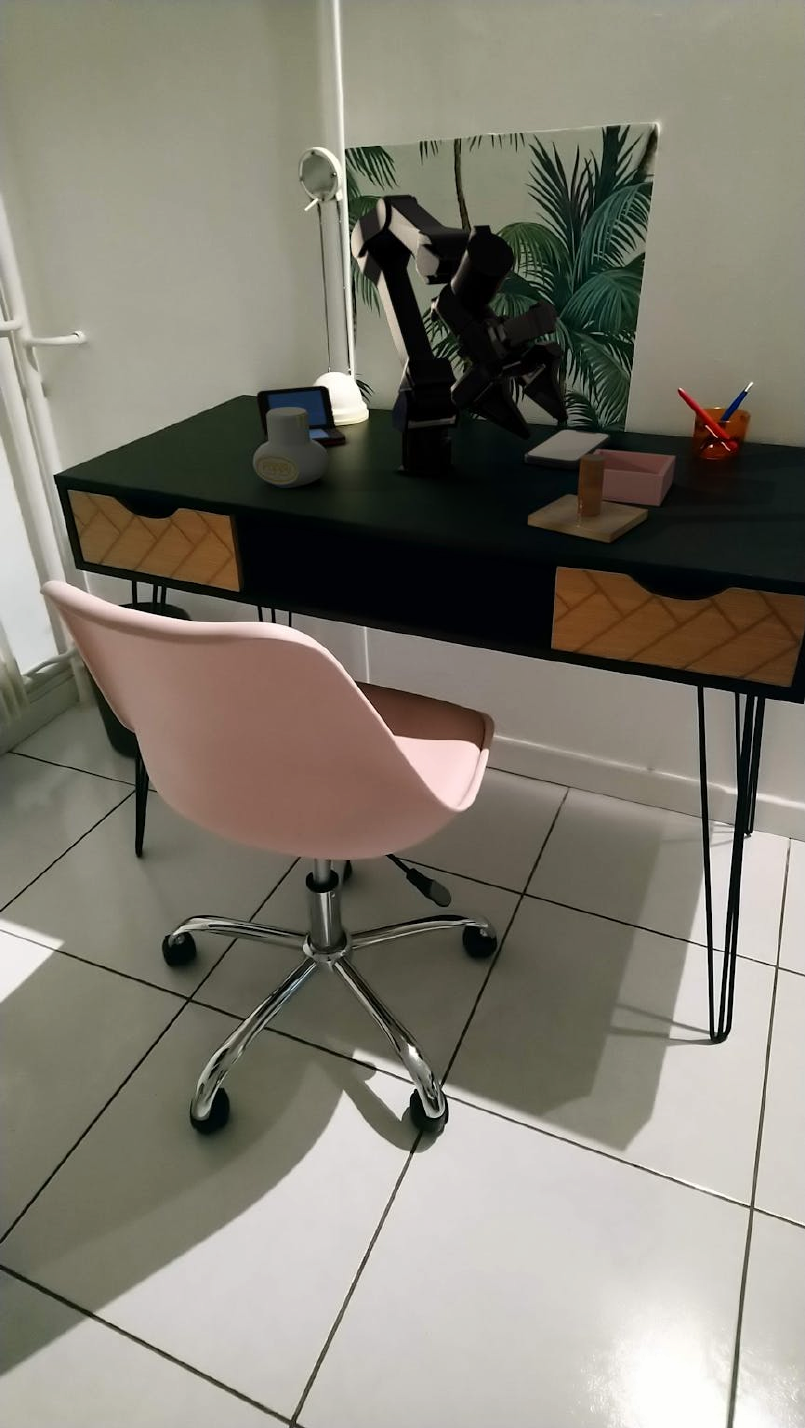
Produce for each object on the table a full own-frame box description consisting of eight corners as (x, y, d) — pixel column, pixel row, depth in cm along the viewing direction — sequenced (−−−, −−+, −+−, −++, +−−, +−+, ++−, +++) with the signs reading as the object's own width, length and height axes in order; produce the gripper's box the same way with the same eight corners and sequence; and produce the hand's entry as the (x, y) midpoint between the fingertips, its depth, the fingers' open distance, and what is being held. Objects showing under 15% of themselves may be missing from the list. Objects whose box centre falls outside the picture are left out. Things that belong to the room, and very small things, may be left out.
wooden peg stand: (527, 524, 113) (531, 460, 109) (567, 502, 120) (572, 440, 115) (609, 543, 107) (616, 475, 103) (646, 518, 114) (655, 454, 109)
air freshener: (245, 485, 129) (237, 415, 124) (275, 470, 135) (268, 402, 130) (311, 494, 125) (306, 421, 120) (339, 477, 132) (334, 407, 126)
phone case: (575, 473, 132) (613, 444, 143) (576, 462, 131) (614, 434, 142) (521, 465, 136) (561, 438, 147) (521, 454, 135) (562, 428, 146)
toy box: (577, 497, 122) (579, 468, 119) (594, 476, 129) (597, 448, 127) (659, 506, 118) (663, 476, 116) (671, 484, 125) (675, 455, 123)
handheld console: (273, 452, 144) (268, 404, 140) (259, 436, 153) (254, 391, 149) (347, 443, 147) (345, 396, 143) (330, 428, 156) (327, 384, 152)
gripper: (473, 287, 99) (554, 402, 99) (556, 270, 111) (628, 372, 111) (417, 355, 107) (492, 461, 107) (500, 332, 120) (567, 428, 120)
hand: (547, 429), depth 111 cm, fingers open, 9 cm apart
